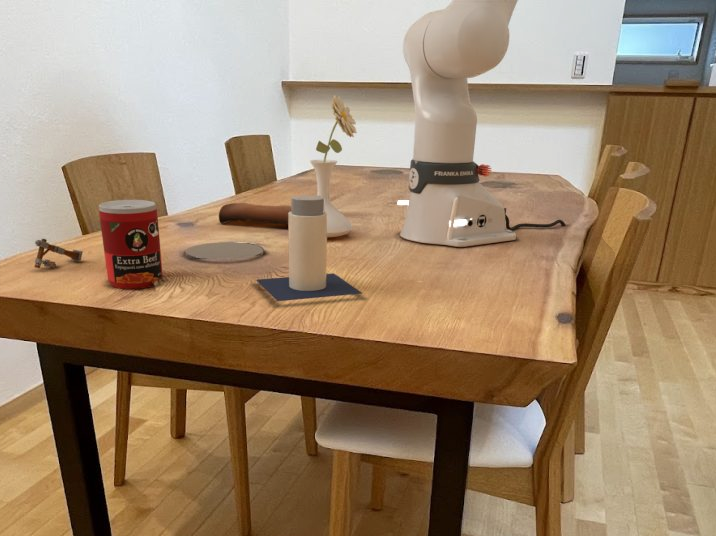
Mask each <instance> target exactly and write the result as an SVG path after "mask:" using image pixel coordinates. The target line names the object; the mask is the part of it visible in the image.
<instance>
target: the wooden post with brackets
mask: <svg viewBox="0 0 716 536" xmlns="http://www.w3.org/2000/svg"><path fill="white" fill-rule="evenodd" d="M47 241H48V240H47V239H46V238H41V239H36V240H35V241H34V244H35V246H36V247H38V252H37V254H36V258H35V261H34V268H35V269H41V267H42V266H41V265H43V266H44V267H46V268H52V269H55V268H56V267H57V263H56V261H52V260H50V259H47V258H46V259H43V257H44V256H45V255H46V254H47V253H49V251H50V252H52V253H56V254H58V255H63V256H66V257H68V258H70V261H72V262H77V263H81V262H82V257H83V250H78V249H72V250H68V249H65V248H63V247H60V246H58V245H55V244H50V243H49V242H47ZM45 249H46V250H45Z"/></svg>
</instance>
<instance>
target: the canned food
mask: <svg viewBox="0 0 716 536" xmlns="http://www.w3.org/2000/svg"><path fill="white" fill-rule="evenodd" d="M98 213H99V223H100V231H101V238H102V246H103V252H104V260H105V261H104V262H105V269H106V276H107V280H108V282H109V284H110V286H111V287H114V288H116V289H122V290H139V289H147V288H152V287H155V283H154V282H157V281H160V280H161V279H162V278H163V276H164V275H163V262H162V252H161V251H162V249H161V240H160V228H159V227H160V226H159V217H158V208H157V204H156V203H155V201H151V200H145V199H117V200H109V201H104V202H102V203H99V204H98Z"/></svg>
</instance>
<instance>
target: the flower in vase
mask: <svg viewBox="0 0 716 536" xmlns="http://www.w3.org/2000/svg"><path fill="white" fill-rule="evenodd" d="M330 102H331V105H330V106H331V109H332V114H333V115H334V120H335V123H334V125H333V127H332V130H331V132H330V135H329V139H328V143H327V144H325V143H324V142H322V141H321V140H318V142H317V145H316V148H315V151H317V152H319V153H321V154H324V156H323V159H311V160H309V162H310V164H311V165H312V167H313V169H314V172H315V177H316V188H317V189H316V191H317V192H316V196H322V197H324V212H326V213H327V239H328V238H336V237H342V236H345V235H347V234H350V233H351V232H352V230H353V225H352V223H351V222H350V220H349V219H348V218H347V217H346V216H345V215H344V214H343V213H342V212H340V211H339V210H338V209H337V208H336V207H335V206H334V205H333V203H332V201H331V198H330V182H331V176H332V173H333V169H334V168H335V166H336V165H337V163H338V160H333V159H327V156H328V152H329V151H330V149H332V151H333V152H335V153H336V154H339V153H341V152H342V150H343V147H342V144H341V143H340V142H339V141H338V140H336V139H335V138H333V139H332V137H333V134H334V131H335V130H336V127H337V125H338V126H339V128H340V129H341V131H342V133H344V134H346V136H349V138H354V137H355V135H354V134H357V129H356V126H355V125H356V121H355V119H354V118H353V115H351V114H350V111H351V110H350V107H349V106H345V105H344V104H345V103H344V101H343V99H342V97H341V96H339V95H338V97H337V95H336V94H334V95H333V97H332V98H331V101H330Z"/></svg>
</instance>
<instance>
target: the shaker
mask: <svg viewBox="0 0 716 536" xmlns="http://www.w3.org/2000/svg"><path fill="white" fill-rule="evenodd" d="M290 206H291V212H289V213H288V224H287V225H288V228H287V230H288V277H289V287H290V288H292V289H295V290H299V291H317V290H321V289H324V288H326V277H327V274H328V273H327V271H328V270H327V269H328V268H327V267H328V238H327V213H326V212H324V197H322V196H317V195H313V194H300V195H293V196H291V198H290Z"/></svg>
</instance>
